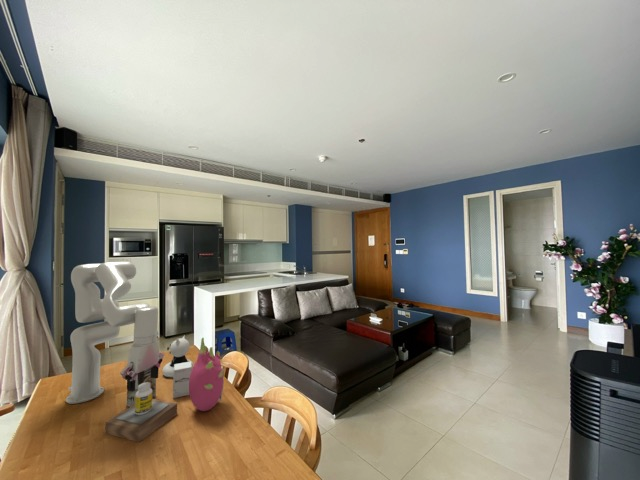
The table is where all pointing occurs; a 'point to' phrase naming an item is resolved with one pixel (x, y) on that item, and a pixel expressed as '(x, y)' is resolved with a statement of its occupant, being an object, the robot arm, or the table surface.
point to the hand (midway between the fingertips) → (143, 383)
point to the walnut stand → (140, 421)
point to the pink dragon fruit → (206, 379)
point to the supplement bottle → (143, 399)
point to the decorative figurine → (177, 355)
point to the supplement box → (181, 379)
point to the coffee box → (139, 379)
